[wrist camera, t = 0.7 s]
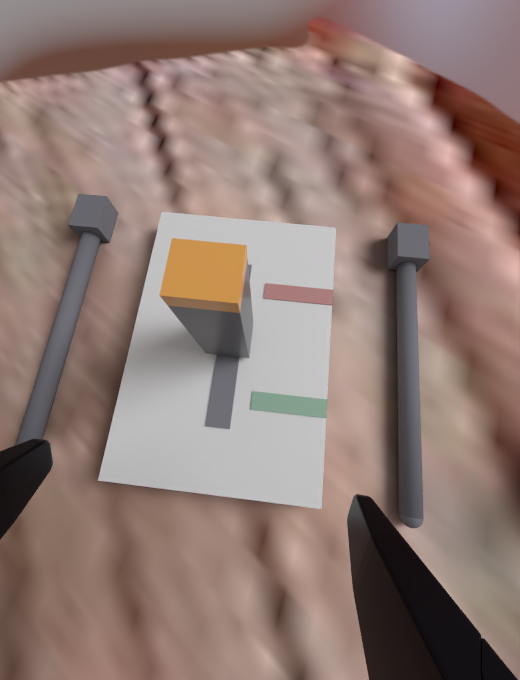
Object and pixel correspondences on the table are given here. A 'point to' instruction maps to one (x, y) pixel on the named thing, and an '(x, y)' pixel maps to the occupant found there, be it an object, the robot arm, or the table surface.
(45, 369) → the pair of grey rods
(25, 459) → the robot arm
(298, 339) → the breaker panel
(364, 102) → the table surface
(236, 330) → the breaker lever
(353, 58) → the table surface
